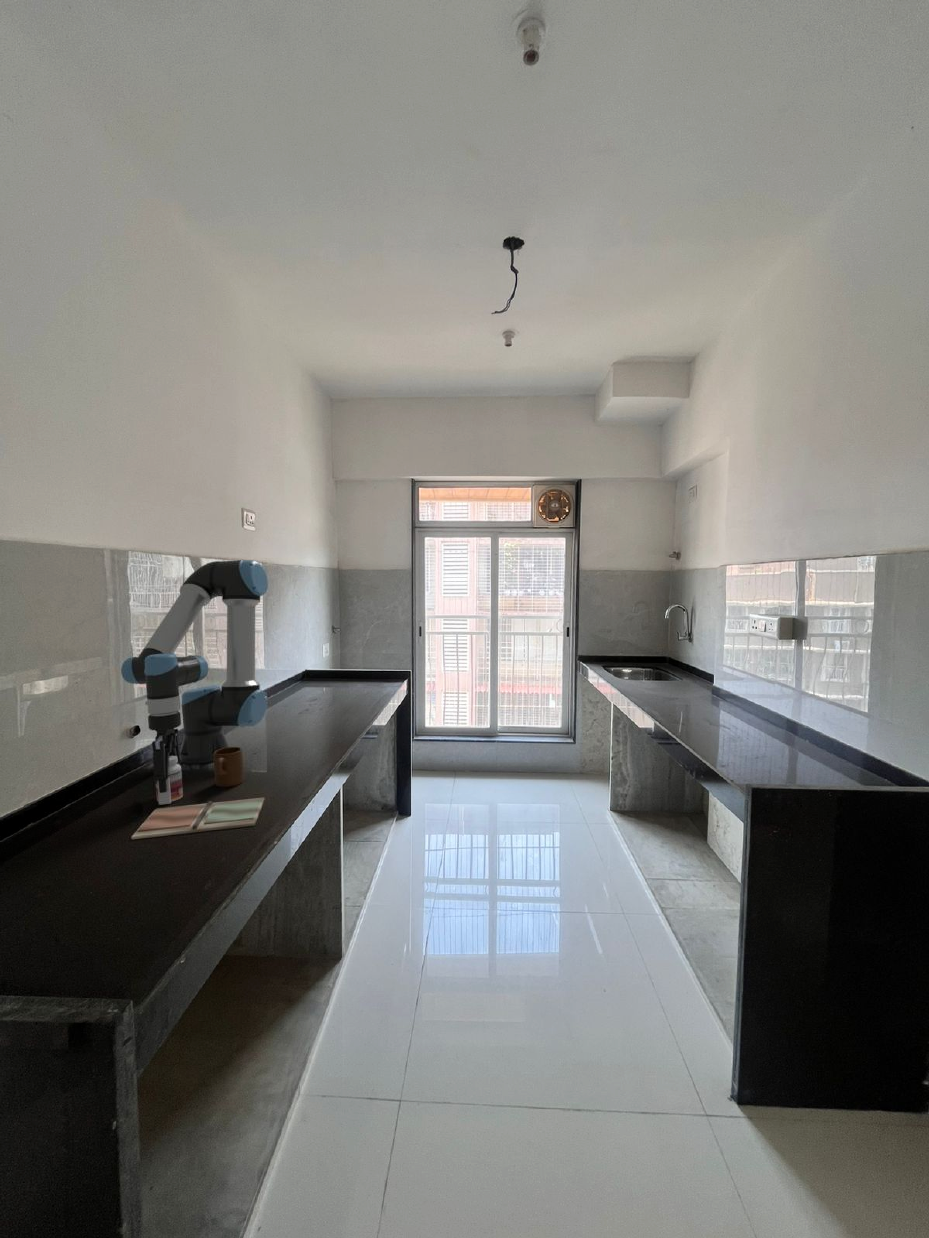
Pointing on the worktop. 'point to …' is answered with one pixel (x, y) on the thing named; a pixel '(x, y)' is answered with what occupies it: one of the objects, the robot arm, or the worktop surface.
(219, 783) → the mug
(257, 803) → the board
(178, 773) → the pill bottle
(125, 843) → the worktop surface
